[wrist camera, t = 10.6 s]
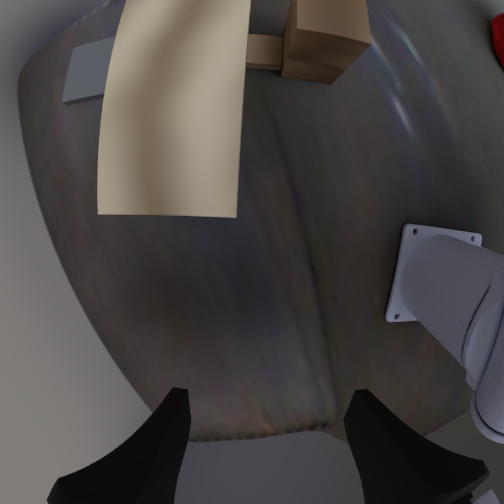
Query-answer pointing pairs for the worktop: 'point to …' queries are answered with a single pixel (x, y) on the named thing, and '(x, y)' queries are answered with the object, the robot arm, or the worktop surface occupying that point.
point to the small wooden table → (174, 109)
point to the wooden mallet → (314, 40)
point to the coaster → (88, 71)
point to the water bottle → (498, 36)
